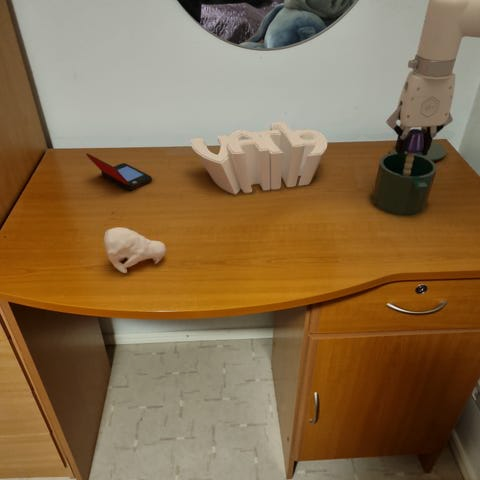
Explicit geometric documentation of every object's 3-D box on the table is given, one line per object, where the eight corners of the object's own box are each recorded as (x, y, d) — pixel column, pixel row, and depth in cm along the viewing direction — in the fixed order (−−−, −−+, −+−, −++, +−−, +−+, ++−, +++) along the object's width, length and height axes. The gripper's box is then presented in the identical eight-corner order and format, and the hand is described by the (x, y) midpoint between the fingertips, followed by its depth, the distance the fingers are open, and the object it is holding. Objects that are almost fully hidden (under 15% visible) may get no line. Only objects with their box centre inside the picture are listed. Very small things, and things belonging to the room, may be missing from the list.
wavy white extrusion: (199, 198, 118) (197, 157, 110) (190, 167, 129) (187, 128, 122) (335, 184, 123) (341, 143, 116) (315, 155, 134) (319, 117, 127)
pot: (409, 181, 124) (418, 146, 117) (438, 219, 111) (451, 181, 104) (361, 184, 123) (368, 148, 116) (386, 223, 110) (395, 185, 103)
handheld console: (154, 181, 124) (150, 153, 119) (119, 196, 118) (114, 168, 113) (124, 165, 130) (120, 138, 125) (90, 179, 124) (84, 152, 119)
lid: (432, 140, 142) (439, 116, 137) (453, 161, 132) (461, 136, 127) (388, 143, 140) (393, 118, 135) (405, 164, 131) (412, 139, 126)
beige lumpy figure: (101, 221, 94) (163, 218, 97) (106, 257, 100) (164, 253, 103) (103, 239, 90) (167, 236, 93) (107, 276, 95) (168, 271, 98)
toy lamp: (387, 202, 116) (404, 133, 104) (391, 193, 119) (407, 125, 107) (408, 206, 114) (427, 136, 103) (410, 196, 117) (429, 128, 106)
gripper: (399, 73, 92) (380, 163, 105) (483, 70, 94) (454, 159, 107) (386, 61, 98) (369, 148, 110) (465, 58, 99) (439, 144, 112)
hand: (411, 152), depth 108 cm, fingers closed on toy lamp, 4 cm apart
